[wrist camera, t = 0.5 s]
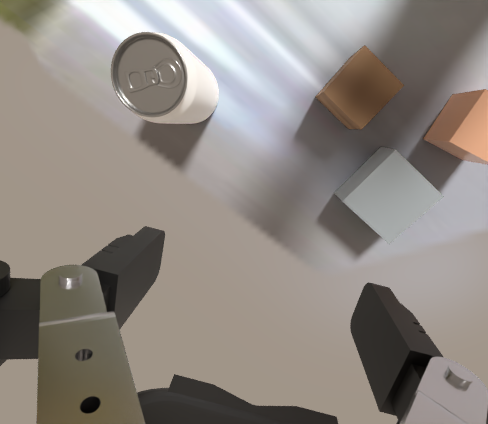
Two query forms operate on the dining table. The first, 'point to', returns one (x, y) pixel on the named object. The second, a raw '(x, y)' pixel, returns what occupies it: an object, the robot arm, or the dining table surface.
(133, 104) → the can
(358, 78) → the walnut cube
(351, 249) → the dining table surface
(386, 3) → the dining table surface
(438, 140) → the terracotta cube
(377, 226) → the base block
